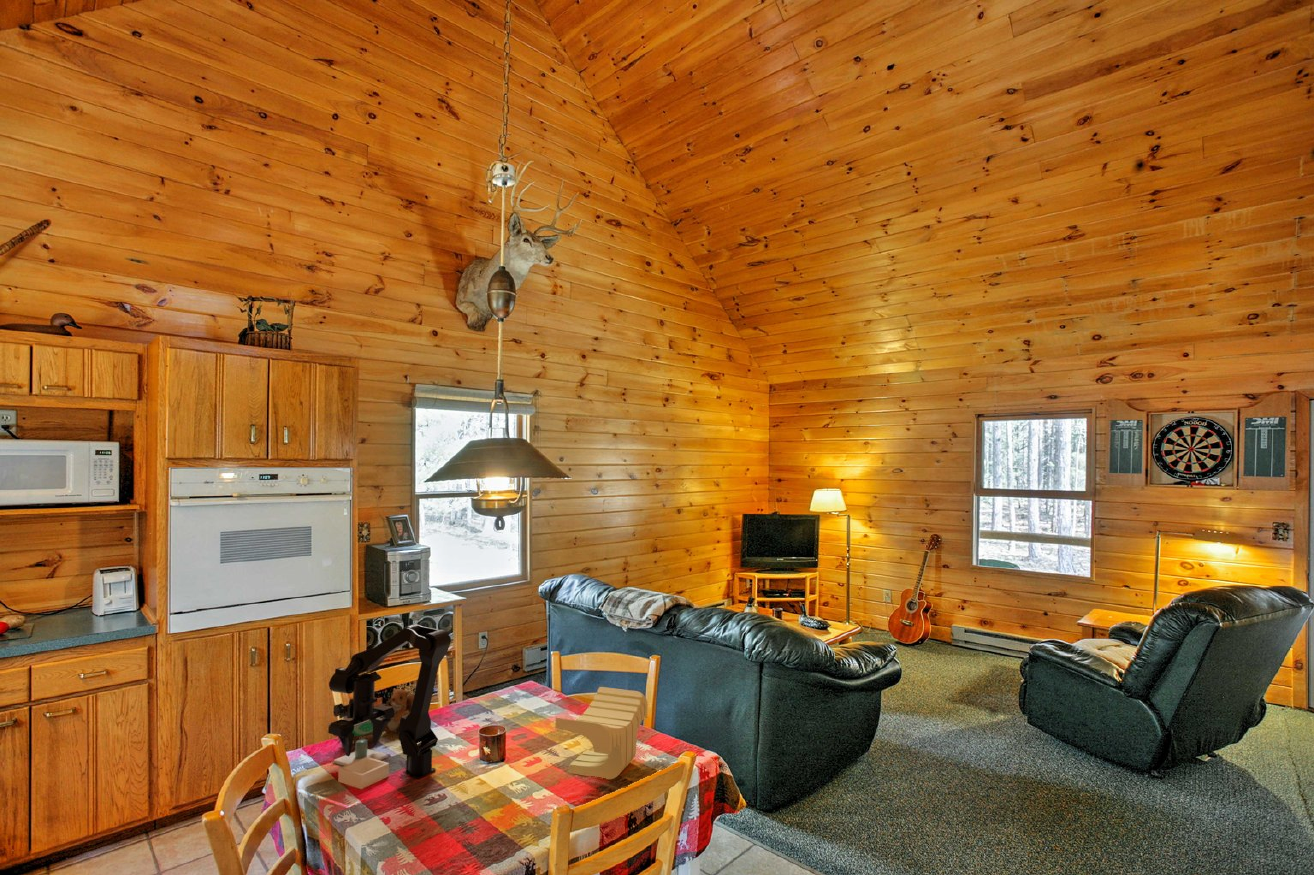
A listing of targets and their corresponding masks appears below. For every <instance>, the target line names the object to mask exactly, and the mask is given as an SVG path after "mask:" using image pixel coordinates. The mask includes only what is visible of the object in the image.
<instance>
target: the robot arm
mask: <svg viewBox="0 0 1314 875" xmlns="http://www.w3.org/2000/svg"><path fill="white" fill-rule="evenodd" d="M451 643H452V638H451V636H450V634H449V633H448V631H446V630H444V629H436V628H433V627H428V626H427V627H426V626H422V625H420V624H418V623H417V624H416V623H413V624H409V625H406V626H404V627H402V629H400V630H399V631H398V632H396V633H394V634H393V635H391V636H390V637H388V638H387V639H385V640H383V641H382V642H381V643H379V644H377V645H376V646H374V647H371V648H369V649H365V650H362V651H360V652H357V653H355V654H353V655H352V656H351V657H350V662H349V664H348V665H347V667H346V668H345V667H337V668H335V669H334V672H335V673H333V674H332V675H331V677H330V680H329V682H328V687H329V688H328V689H329V690H330V691H332V692H335V693H341V694H349V695H350V694H352V698H350V699H349V701H348V704H343V703H338V704H335V705H333V716H334V717H335V718H337V717H338V718H339V719H337V720H335V721H332V722H331V723H329V725H328V727H327V728H328V730H327V731H328V734H329V735H332V736H335V737H337V738H338V739H339V741H340V742H341V744H342V745H341V746H342V748H343V751H344V755H346V756H350V753H352V749H353V745H354V744H353V739H354V733H352V732H353V730H354V726H357V725H360V724H363V723H365V722H368V721H371V722H372V724H373V741H372V745H373V746H377V744H378V743H379V741H380V739H381V737H382V736H383V734H384V732H385V731H384V729H385V728H386V726H387V724H388V723H389V722H390V721H391V718H393V717H394V716H395V710H394V709H393V707H391V706H390V705H388V706H387V705H385V704H381V706H378V705H377V706H378V707H376V706H375V703H377V702H378V698H377V697H375V691H376V690H375V686H376V682H377V681H379V680H381V679H382V676H381V675H380V674H378V672H377V671H373V672H370V673H369V671H371V670H374V669H377V668H378V667H379V666H380V665H381V664H382V663H384V660H385V659H386V658H387V657H388V656H390V655H391V654H392V653H394V652H395V651H397V650H399V649H401V648H402V647H403V646H405V645H407V644H410V645H411V646H412V647H413V648H414V649H417V650H418V656H419V659H420V661H421V663H420V668H419V673H418V676H417V680H416V686H415V688H414V689H415V690H414V693H413V694H414V698H413V702H412V707H411V711H410V713H409V714H407V715H405V716H403V717H401V719H400V726H399V729H398V730H397V732H399V733H398V737H397V738H398V740H399V743H400V746H401V751H402V754H403V755H404V756H405V755H406V764H405V765H406V766H405V768H406V770H404V771H402V774H404V775H408V777H411V778H414V779H418V780H419V779H421V778H422V779H423V778H424V777H425V776H427V775H430V774H432V773H434V772H435V771H436V770H437V769H436V768H435V767H432V765H433V763H432V762H433V749H432V748H434V747H436V746H437V744H438V741H439V738H438V737H437V735H436V734H435V732H434V730H432V728H431V727H432V718H431V716H430V714H429V712H430V706H431V703H432V702H431V701H432V698H433V693H434V688H435V684H436V681H437V676H438V672H439V667H440V664H441V662H442V661H443V659H444V658H445V657H446V655H447V653H448V652H449V651H448V650H449V648H450V646H451ZM374 707H375V708H374ZM345 716H347V718H349V719H350V718H352V720H350V721H347V720H344V719H343V717H345ZM397 732H396V733H397Z"/></svg>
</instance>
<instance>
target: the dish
mask: <svg viewBox="0 0 1314 875" xmlns="http://www.w3.org/2000/svg"><path fill="white" fill-rule="evenodd" d="M388 777H390V762H386V761H384V760H382V761H380V760H377V759H373V758H370V757H365V758H362V759H360V760H358V761H355V762H353V763H351V764H348V765H346V766H343V767H342V766H340V767H339V768H338V781H337V782H338V783H342V784H345V785H347V786H350V787H353V788H356V789H359V790H363V789H365V788H367V787H369V786H371V785H373V784H375V783H378V782H379V781H382V780H384V779H386V778H388Z"/></svg>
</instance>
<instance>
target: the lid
mask: <svg viewBox="0 0 1314 875" xmlns="http://www.w3.org/2000/svg"><path fill="white" fill-rule="evenodd" d="M368 744H369V742H368V740H365V739H362V740H358V741H356V744H354V745H355V747H354V748H355V749H354V751H351V753H350V756H346V754H344V755H343V756H341V757H337V758H336V759H333V760H334V761H333V762H334V763H337V764H340V765H343V766H346V765H348V764H351V763H353V762H355V761H358V760H360V759H362V758H365V757H370V758H373V759H377V760H382V759H384V758H387V756H388V754H387V753H382V752H380V751H376V750H372V749H369V748H368ZM387 759H388V758H387ZM382 761H383V760H382Z"/></svg>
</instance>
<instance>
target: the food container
mask: <svg viewBox="0 0 1314 875" xmlns="http://www.w3.org/2000/svg"><path fill="white" fill-rule="evenodd" d="M381 705H382V704H381V703H380V702H378V705H377V706H374V708H375V707H378V706H381ZM342 719H343V720H347V721H350V720H352V718H350V719H349V718H347V716H345V717H343V718H342ZM352 733H354V739H353V744H352V745H356V741H358V740H362V739H365V740H368V743H371V742H373V724H372V722H371V721H368V722H365V723H363V724H360V725H357V726H354V730H353V732H352Z"/></svg>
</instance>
